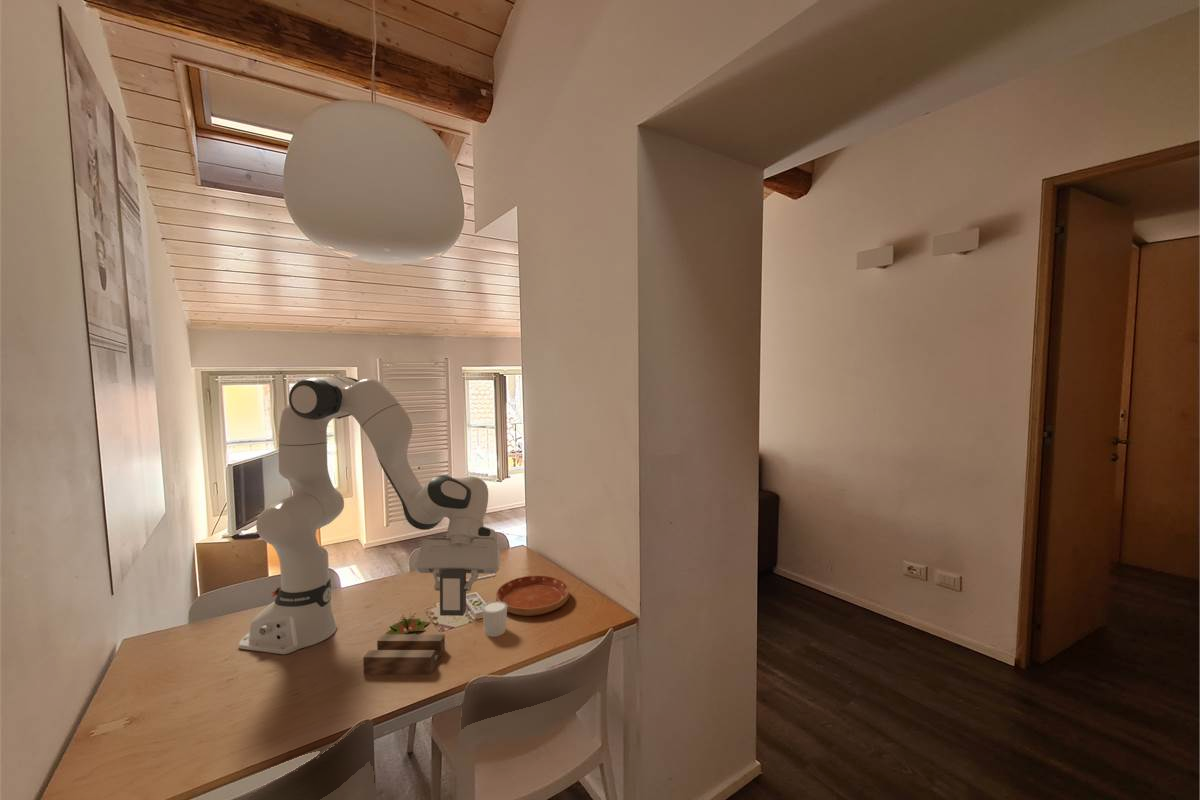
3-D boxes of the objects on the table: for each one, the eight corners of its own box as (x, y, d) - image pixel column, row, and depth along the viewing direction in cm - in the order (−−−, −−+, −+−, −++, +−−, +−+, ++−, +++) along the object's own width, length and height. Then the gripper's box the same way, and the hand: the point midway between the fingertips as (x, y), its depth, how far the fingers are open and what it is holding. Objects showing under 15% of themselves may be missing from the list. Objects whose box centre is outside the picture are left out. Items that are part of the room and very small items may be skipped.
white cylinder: (501, 639, 127) (501, 613, 127) (478, 636, 128) (477, 611, 128) (511, 626, 134) (511, 602, 133) (488, 623, 135) (488, 599, 135)
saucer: (544, 627, 134) (544, 614, 134) (480, 609, 143) (480, 598, 143) (581, 593, 154) (581, 582, 154) (523, 581, 164) (523, 570, 164)
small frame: (439, 615, 112) (439, 574, 111) (443, 610, 115) (443, 569, 114) (462, 616, 112) (462, 574, 111) (466, 610, 115) (466, 570, 114)
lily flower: (402, 617, 139) (401, 602, 139) (438, 622, 137) (438, 606, 136) (374, 639, 127) (374, 623, 127) (414, 645, 125) (413, 628, 125)
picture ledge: (363, 673, 112) (363, 657, 112) (382, 649, 122) (382, 634, 122) (431, 673, 112) (430, 657, 112) (444, 649, 122) (444, 634, 122)
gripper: (420, 529, 119) (404, 584, 110) (501, 530, 119) (492, 585, 110) (426, 541, 124) (412, 594, 115) (504, 541, 124) (496, 595, 115)
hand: (452, 590), depth 112 cm, fingers closed on small frame, 5 cm apart
